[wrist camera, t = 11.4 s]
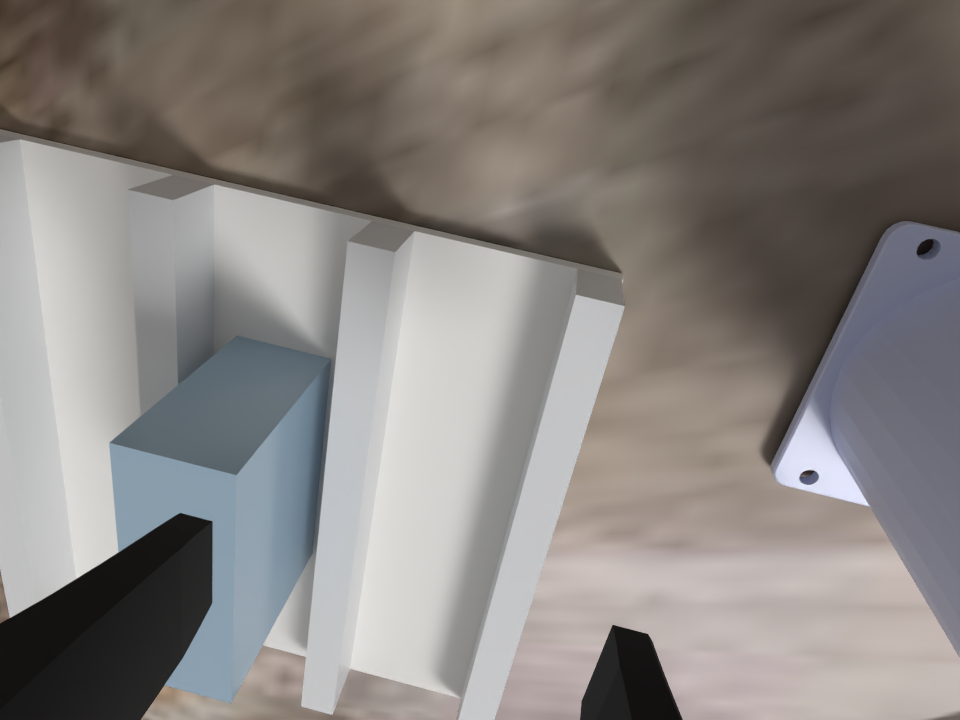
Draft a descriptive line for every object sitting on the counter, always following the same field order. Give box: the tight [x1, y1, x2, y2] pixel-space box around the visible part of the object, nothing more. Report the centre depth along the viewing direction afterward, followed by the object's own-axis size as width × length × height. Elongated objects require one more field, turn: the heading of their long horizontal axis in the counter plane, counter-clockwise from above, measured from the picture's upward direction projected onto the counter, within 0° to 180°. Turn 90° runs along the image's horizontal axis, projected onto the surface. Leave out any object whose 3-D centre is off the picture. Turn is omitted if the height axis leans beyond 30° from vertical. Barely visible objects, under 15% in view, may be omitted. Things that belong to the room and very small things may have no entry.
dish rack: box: [0, 129, 625, 720], centre depth 21 cm, size 18×18×2 cm
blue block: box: [109, 336, 331, 703], centre depth 19 cm, size 3×8×6 cm, turn 169°
